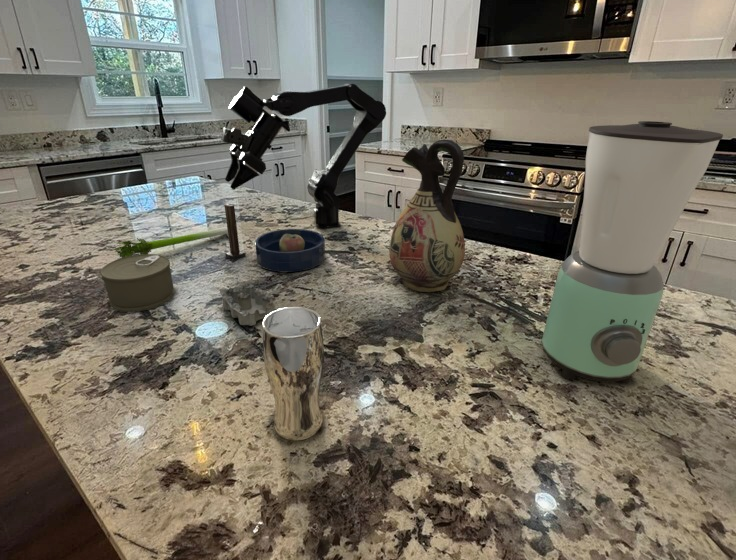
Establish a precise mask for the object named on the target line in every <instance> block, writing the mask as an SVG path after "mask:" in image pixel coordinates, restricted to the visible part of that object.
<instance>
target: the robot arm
mask: <svg viewBox="0 0 736 560" xmlns="http://www.w3.org/2000/svg"><path fill="white" fill-rule="evenodd" d="M344 101H347V103H349V106H351V107H352V108H353V109H354V110H355V111H356V112H355V115H354V118H353V124H352V126H351V128H350V130H349V131H348V133H346V135H345V137H344V139H342V142H341V143H340V145H339V146H338V148H337V149H336V151H335V152H334V153H333V155H332V157H331V159H330V160H329V161H328V163H327V165H326V166H325V167H324V168H323V169H322V170H318V169H315V170H314V171H313V173H312V176H311V177H310V178H309V179H308V180H307V181H308V184H307V187H306V189H307V193H308V195H310V197H311V198H313V200H314V202H315V208H314V209H313V217H314V219H313V220H314V224H315V225H316V226H317V228H318V229H324V228H336V227H338V228H339V227H341V224H340V223H339V222H340V219H339V218H340V217H339V216H340V215H339V212H340V211H339V210H340V209H339V208H340V207H341V204H342V199H341V198H340V197H339V196H338V195H336V193H335V192H336V190H337V188H338V183H339V178H340V176H341V174H342V173H343V171H344V170H345V169H346V167H347V165H348V164H349V162H350V161H351V159H352V158H353V157H354V155H355V153H356V152H357V150H358V149H359V147H360V146H361V144H362V143H363V141H364V139H365V138H366V136H368V134H369V133H371V132H373V131H374V130H376V128H378V126H379V125H380V124H381V123H382V122H384V120H385V119H386V116H387V109H386V105H385V104H384V103H383V102H382V101H379V100H376V99H375V98H373V97H372V96H370V95H369V94H368V93H367V92H365V91H363V90H362V89H361V88H360V87H359V86H358V85H357V84H355V83H344V84H342V85H337V86H331V87H325V88H320V89H314V90H308V91H288V90H287V91H286V90H281V91H276V92H275V93H273V95H272V97H269V98H264V99H261V98H260V97H259V96H257V95H256V94H255V93H254V92H253V91H252V90H251V89H250V88H249V87H247V86H243V88H242V89H241V90H240V91H239V92H238V93H237V95H235V96H234V97H233V99H232V100H231V102H230V104H229V106H228V109H229V110H230V111H231V112H233V113H234V114H236V116H238V117H239V118H240V119H242V120H243V121H244V122H246V123H247V124H250V123H251V122H252V123H255V125H254V126H253V127H252V130H247V131H246V133H243V132H242V129H240V128H236V127H233V128H232V129H230V128H228V127H223V129H222V134H221V138H220V140H221V141H222V142H223V143H226V144H232V145H231V146H230V148H229V150H230V151H229V155H230V160H231V161H230V164H229V168H228V170H227V173H226V176H225V178H224V180H225V182H227V183H230V182H231V181H232V182H231V184H230V186H229V187H230V189H231V190H235V189H238V188H239V187H241V186H243V185H244V184H246V183H248V182H249V181H251V180H253V179H254V178H256V177H259V176H260V175H263V174H264V173H265V171H266V170H267V166H266V163H265V161H263V160H264V159H263V156H264V155H265V153H266V152H267V150H270V149H272V143H273V142H274V140H275V139H276V137H277V136H278V135H279V133H280V132H281V130H284V131H285V132H288V133H289V132H291V129H290V128H291V127H290V120H288V119H283V118H281V117H280V116H279V115H281V116H285V117H291V116H294V115H296V114H298V113H301V112H303V111H305V110H307V109H309V108H312V107H318V106H324V105H328V104H333V103H339V102H344ZM267 110H269V111H274V113H273V114H270V113H269V112H268V111H267Z"/></svg>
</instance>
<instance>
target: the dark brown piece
mask: <svg viewBox="0 0 736 560" xmlns="http://www.w3.org/2000/svg"><path fill="white" fill-rule="evenodd" d="M224 214H225V221H226V227H227V229H228V234H227V236H228V244H229V245H228V246H229V252H228V251H227V252H225V253H224V255H225V258H227V259H229V260H232V261H237V260H239V259H242V258H245V257H246V252H244V251H242V250H240V242H239V235H238V227H237V225H238V224H237V217H236V209H235V205H233V204H230V203H226V204H224Z"/></svg>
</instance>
